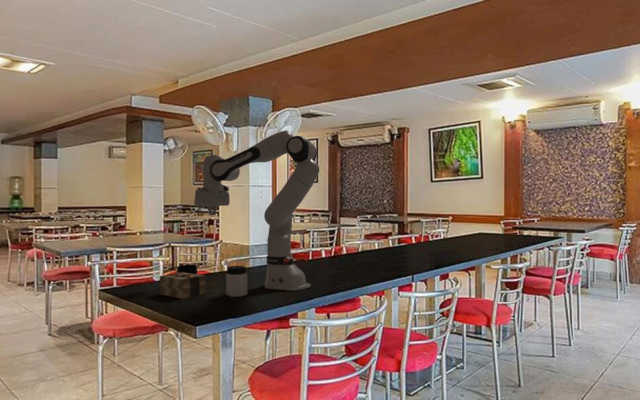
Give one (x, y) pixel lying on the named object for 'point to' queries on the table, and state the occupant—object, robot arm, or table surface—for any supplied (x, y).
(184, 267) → the mug
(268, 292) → the table surface
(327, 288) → the table surface
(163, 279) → the oak block
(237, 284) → the jar
